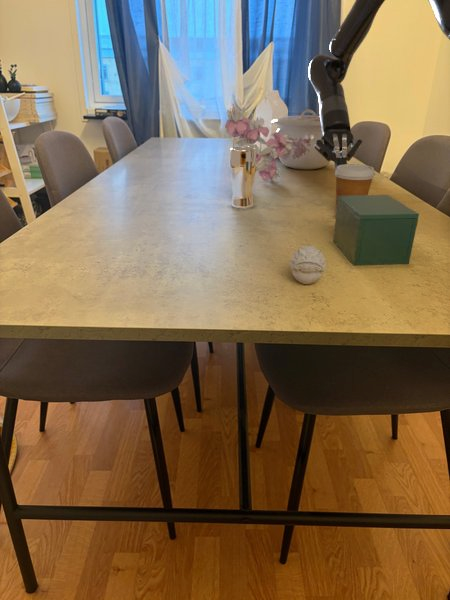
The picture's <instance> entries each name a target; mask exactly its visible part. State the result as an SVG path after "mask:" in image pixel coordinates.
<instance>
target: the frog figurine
mask: <svg viewBox="0 0 450 600" xmlns="http://www.w3.org/2000/svg"><path fill="white" fill-rule="evenodd" d="M324 256H325V255H324V254H323V253H322V250H321V249H317V248H316V247H315V246H314V245H304V246H302V248H298V249H297V250H296V251H294V253H293V255H292V258H291V260H290V261H289V263H288V265H289V268H290V271H291V273H292V276H293V278H294V279H295V280H296V281H297V282H298V283H300V284H302V285H312V284H314V283H316V282H318V280H319V279H320V278H322V275H323V273H324V272H325V270H326V269H327V263H326V259H325V257H324Z"/></svg>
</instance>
